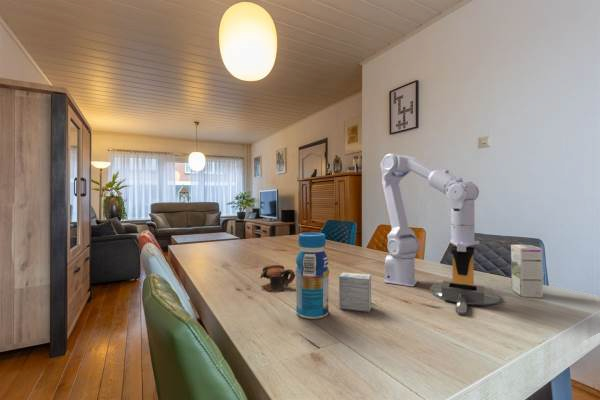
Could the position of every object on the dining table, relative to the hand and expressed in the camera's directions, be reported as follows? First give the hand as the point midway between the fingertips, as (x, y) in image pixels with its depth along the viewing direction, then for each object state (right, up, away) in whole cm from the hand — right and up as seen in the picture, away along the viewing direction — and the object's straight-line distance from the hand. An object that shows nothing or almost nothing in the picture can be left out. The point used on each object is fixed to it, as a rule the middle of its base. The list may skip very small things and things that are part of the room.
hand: (462, 273), depth 80 cm
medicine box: (-31, -8, -4) cm, 32 cm away
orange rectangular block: (0, -3, 0) cm, 3 cm away
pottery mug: (-53, -8, +14) cm, 55 cm away
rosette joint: (+1, -8, +2) cm, 8 cm away
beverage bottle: (-42, -8, -8) cm, 44 cm away
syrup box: (+22, -8, +5) cm, 24 cm away
